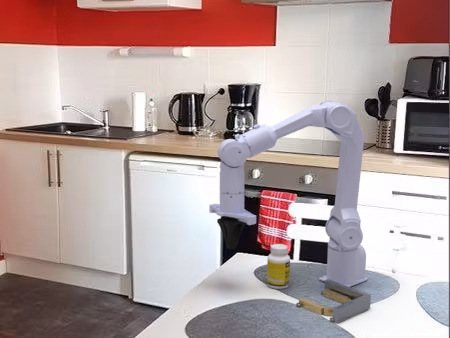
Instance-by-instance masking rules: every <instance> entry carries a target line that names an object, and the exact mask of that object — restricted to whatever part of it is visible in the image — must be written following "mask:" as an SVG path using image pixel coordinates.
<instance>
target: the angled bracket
mask: <svg viewBox="0 0 450 338" xmlns="http://www.w3.org/2000/svg"><path fill="white" fill-rule="evenodd" d="M323 288H324V290H321V291H320V294H321V295H322V296H323V297H326V298H328V299H330V300H333V301H335V302H337V303H341V304H340V305H337V306H334V307H330V306H328V307H327V306H323V305H320V304H318V303H316V302H314V301H312V300H309V299H307V298H304V297H301V298H299V299H298V302H296V303H295V304H296V305H295V306H296V308H301V307H303V308H304V309H307V310H309V311H311V312H313V313H314V314H315V313H316V314H317V315H321V316H325V317H326V316H327V317H329V322H331V323H334V324H335V323H336V324H339V323H342V322H344V321H347V320H349V319H351V318H353V317H355V316H358V315H360V314H362V313H364V312H366V311H369V309H370V308H371V297H372V296H371V294H369V293H366V292H364V291H361V290H358V289H356V288H354V287H352V286H351V287H348V286H345V285H343V284H340V283H337V282H335V281H332V280H329V279H327V280H325V282H324V287H323Z"/></svg>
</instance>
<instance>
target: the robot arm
mask: <svg viewBox="0 0 450 338" xmlns="http://www.w3.org/2000/svg"><path fill="white" fill-rule="evenodd" d="M307 127H314V128H316V127H317V128H323V129H326V130H328V131H330V132H331V133H332V134H333V135H334V136H335V138H336V139H338V141H340V142H339V143H340V147H339V156H338V157H339V159H338V166H337V167H338V168H337V179H336V187H335V197H334V199H335V200H334V206H333V207H332V208H331V210H330V213H329V218H328V219H327V221H326V223H325V226H324V227H325V228H324V229H325V233H326V235H327V236H328V238H329V240H328V241H327V259H326V260H327V262H326V264H327V265H326V267H327V269H326V275H322V276H321V277H319V281H322V282H324V283H325V280H327V279H329V280H332V281H335V282H337V283H340V284H343V285H345V286H348V287H351V288H352V287H354V286H356V285H358V284H361V283H363V282H366V281H369V280H368V279H369V278H368V277H366V265H367V263H366V262H367V253H366V249H365V248H364V246H363V245H362V242H363V238H364V236H363V235H364V233H363V230H362V228H361V222H362V221H361V218H360V215H359V212H358V201H359V190H360V182H361V181H360V180H361V173H362V162H363V153H364V151H363V150H364V143H365V134H364V131H363V129H362V127H361V125H360V123H359V120H358V115H357V112H356V111H355V110H353V108H351V107H350V106H349V105H347V104H346V103H343V102H340V103H339V102H334V101H332V100H324V101H322V102H320V103H316V104H313V105H311V106H308V107H307V108H304V109H302V110H301V111H299V112H297V113H294V114H293V115H291V116H289V117H287V118H285V119H284V120H281V121H280V122H278V123H275V124H274V125H271V126H269V125H267V124H261V125H260V124H259V123H257V124H254V125H253V127H252V129H251V130H248V131H246V132H244V133H242V134H239V133H237V134H235V135H234V138H235V139H233V138H228V139H225V140H223V141H222V142H221V144H219V147H218V150H217V156H218V158H219V159H220V162H219V164H220V165H219V169H220V171H219V204H218V203H211V204H209V210H208V211H209V213H210V214H216V215H217V216H220V218H218V219H216V221H217V225H219V227H220V230H221V232H222V234H223V238H224V242H225V246H226V249H229V250H232V249H237V247H238V244H239V240H240V236H241V233H242V231H243V229H244V227H245V226H246V225H248V226H251V225H252V226H253V225H255V224H257V215H255V214H253V213H251V212H250V211H248V210H247V209H245V163H246V161H247V160H248V159H251V158H253V157H255V156H257V155H260V154H261V153H264V152H266V151H268V150H270V149H272V148H274V147H275V145H276V143H277V140H279V139H282V138H284V137H286V136H288V135H291V134H294V133H296V132H298V131H301V130H304V129H305V128H307Z"/></svg>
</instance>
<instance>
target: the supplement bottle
mask: <svg viewBox="0 0 450 338" xmlns="http://www.w3.org/2000/svg"><path fill="white" fill-rule="evenodd" d="M288 249H289V248H288V245H285V244H282V243H275V244H271V245H270V253H269V255H268V256H267V261H266V262H267V267H266V286H268V287H269V288H271V289H276V290H283V289H287V288H288V287H289V286H290V271H291V270H290V269H291V256H290V255H288Z"/></svg>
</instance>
